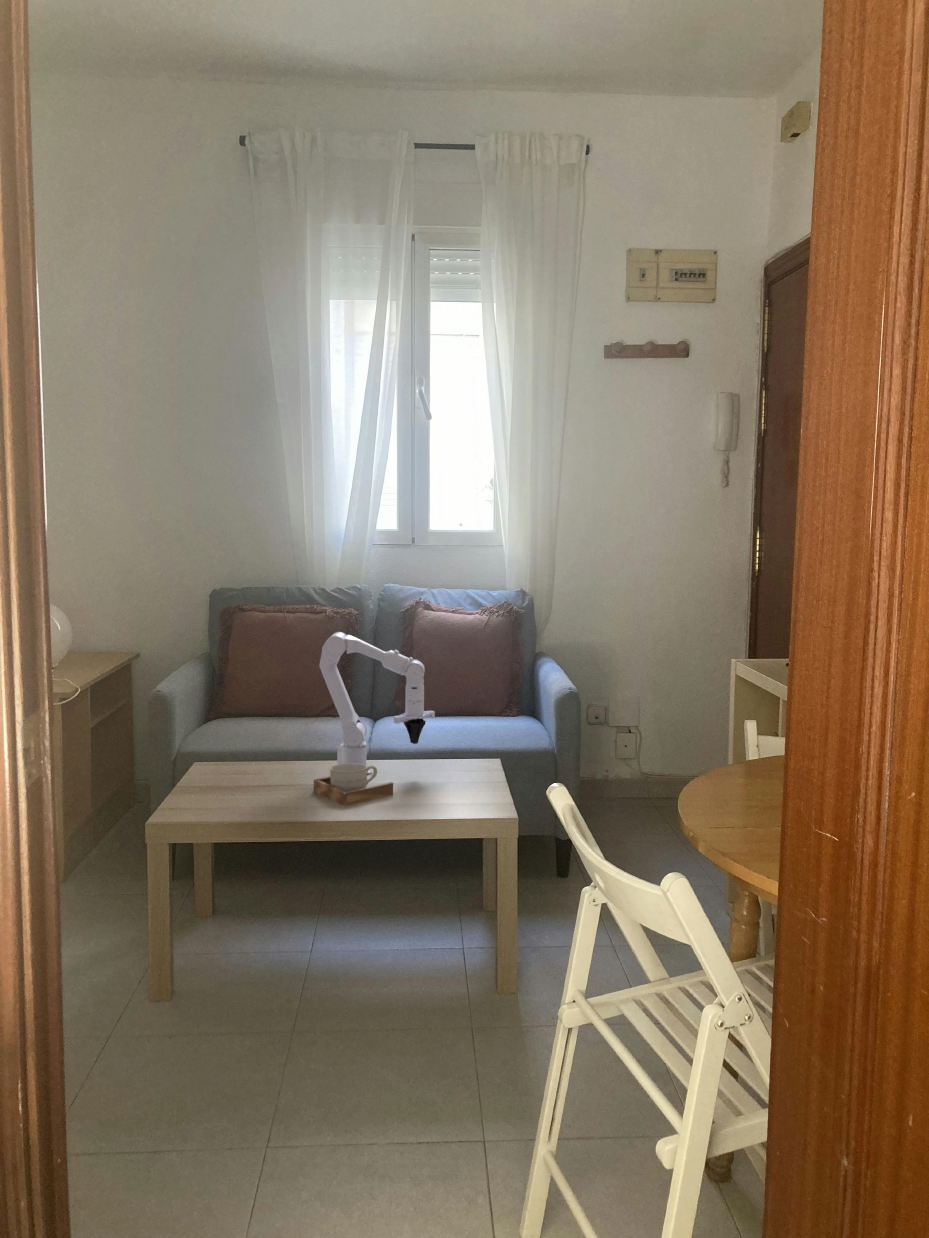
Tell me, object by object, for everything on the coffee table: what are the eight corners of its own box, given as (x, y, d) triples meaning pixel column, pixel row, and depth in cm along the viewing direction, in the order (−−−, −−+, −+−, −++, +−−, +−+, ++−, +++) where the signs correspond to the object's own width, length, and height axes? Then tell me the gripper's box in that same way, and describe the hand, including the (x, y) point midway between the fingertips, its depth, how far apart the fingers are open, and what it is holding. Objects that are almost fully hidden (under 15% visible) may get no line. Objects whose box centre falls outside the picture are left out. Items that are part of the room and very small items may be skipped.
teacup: (331, 800, 266) (331, 772, 265) (327, 788, 276) (327, 762, 275) (380, 797, 269) (380, 770, 268) (375, 786, 280) (375, 759, 279)
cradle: (313, 791, 273) (313, 779, 273) (361, 781, 284) (361, 770, 284) (344, 805, 261) (344, 793, 261) (393, 794, 272) (393, 783, 271)
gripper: (403, 705, 282) (402, 749, 284) (441, 699, 291) (440, 742, 293) (389, 701, 288) (389, 744, 289) (427, 695, 297) (426, 737, 298)
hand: (414, 742), depth 292 cm, fingers closed
